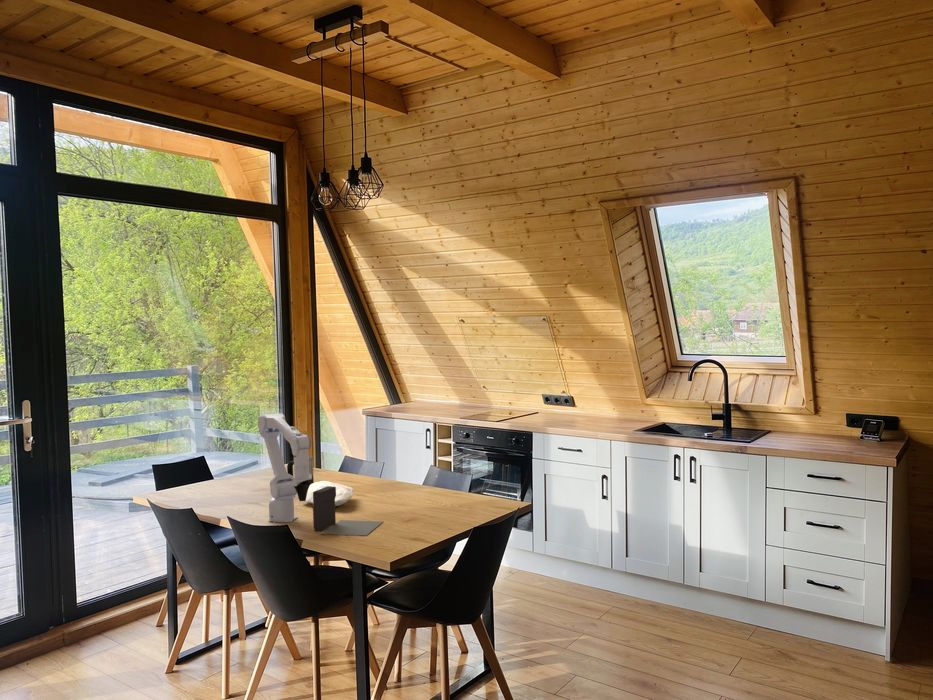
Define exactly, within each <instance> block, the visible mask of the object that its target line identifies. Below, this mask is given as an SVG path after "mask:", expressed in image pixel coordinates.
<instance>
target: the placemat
mask: <svg viewBox="0 0 933 700" xmlns="http://www.w3.org/2000/svg"><path fill="white" fill-rule="evenodd" d="M383 523H384V521H381V520H380V521H377V520H375V521H374V520H351V519H350V520H345V519H342V520H341V519H340V520H339V521H337V522H336V524H334V525H332V526H330V527H328V528H326V529H324V530H323V531H322V532H320V535H321V534H324V535H325V534H326V535H325V536H329V535H328V534H331V535H330V536H348V535H360V536H359V537H367V536H368V535H370V534H371V533H372V532H373V531H374V530H376V529H377V528H378V527H379V526H380V524H381V525H382V524H383ZM375 528H376V529H375ZM371 531H372V532H371ZM370 532H371V533H370ZM332 534H333V535H332ZM361 535H362V536H361Z"/></svg>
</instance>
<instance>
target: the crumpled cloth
mask: <svg viewBox="0 0 933 700" xmlns="http://www.w3.org/2000/svg"><path fill="white" fill-rule="evenodd" d="M327 486H332V487H336V497H335V507H337V506H342V505H343V504H346V503H347V502H348V501H350V500H351V498H352V497H353V496H354V492H355V489H354V488H353V487H352V486H348V485H347V486H346V485H345V484H342V483H337V482H332V481H328V480H320V481H315V482H314V483H312V484H311V485H310V486H309V489H308V492H307V497H306V501H303V502H304V503H305V502H306V503H311V504H313V492H314V491H317V490H319V489H322V488H325V487H327Z"/></svg>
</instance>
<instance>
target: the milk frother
mask: <svg viewBox="0 0 933 700" xmlns="http://www.w3.org/2000/svg"><path fill="white" fill-rule="evenodd" d="M314 459H315V458H314V457H313V456H309V474H312V479H311V480H307V481H309V482H311V484H312V483H315V482H314ZM286 471H287V473H288V474H290V475H292V476H294V459H293V460H290V461H288V463H287V465H286ZM311 484H310V485H311Z"/></svg>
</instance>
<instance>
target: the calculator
mask: <svg viewBox="0 0 933 700" xmlns="http://www.w3.org/2000/svg"><path fill="white" fill-rule="evenodd" d="M335 497H336V487H332V486H327V487H325V488H322V489H319V490H317V491H314V492H313V503H312V517H313V518H312V519H313V521H312V523H313V524H312V525H313V530H314V531H316V532H317V531H318V532H321V531H322V532H323V531H325V530H327V529H328V528H330V527H331V526H333V525H334V524H336V523H337V522H336V506H335Z"/></svg>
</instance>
